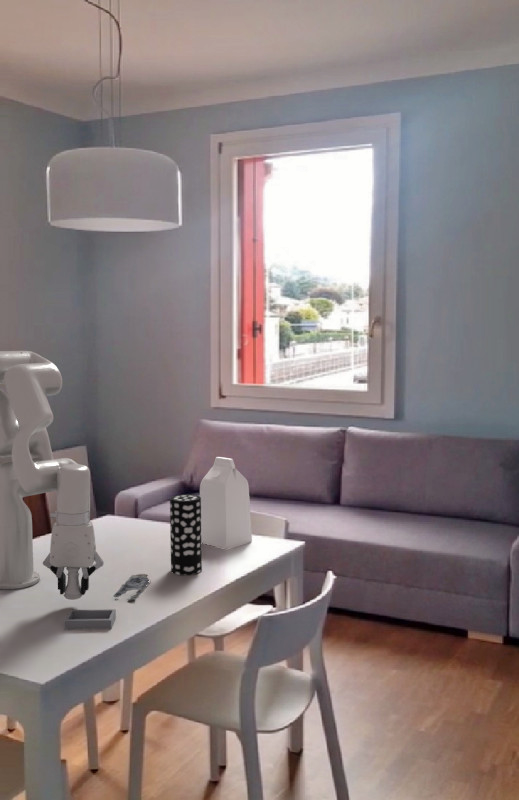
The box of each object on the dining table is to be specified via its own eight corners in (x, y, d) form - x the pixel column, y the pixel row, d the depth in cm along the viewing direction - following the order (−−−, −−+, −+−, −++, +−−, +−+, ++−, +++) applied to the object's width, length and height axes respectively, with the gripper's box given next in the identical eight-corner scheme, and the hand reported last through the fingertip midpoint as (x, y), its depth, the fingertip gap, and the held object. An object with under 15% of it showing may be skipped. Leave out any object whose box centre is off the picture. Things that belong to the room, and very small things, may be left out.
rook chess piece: (63, 593, 193) (63, 561, 192) (82, 592, 194) (82, 560, 193) (63, 600, 189) (63, 567, 188) (83, 599, 190) (83, 566, 189)
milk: (252, 541, 248) (251, 457, 245) (226, 549, 239) (225, 462, 237) (223, 534, 256) (222, 453, 253) (197, 542, 247) (196, 458, 244)
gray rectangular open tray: (64, 629, 177) (64, 620, 177) (70, 618, 184) (70, 609, 184) (111, 628, 178) (111, 620, 178) (115, 617, 184) (115, 609, 184)
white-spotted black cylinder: (182, 564, 225) (181, 493, 223) (207, 568, 221) (206, 496, 219) (164, 572, 218) (163, 499, 216) (190, 577, 214) (189, 502, 212)
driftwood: (133, 576, 216) (133, 569, 216) (158, 577, 215) (157, 570, 215) (107, 604, 196) (107, 596, 195) (134, 605, 195) (134, 597, 194)
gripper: (33, 521, 185) (33, 597, 187) (107, 523, 186) (106, 599, 188) (41, 512, 192) (41, 586, 195) (112, 514, 193) (111, 587, 195)
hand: (73, 591), depth 191 cm, fingers closed on rook chess piece, 4 cm apart
